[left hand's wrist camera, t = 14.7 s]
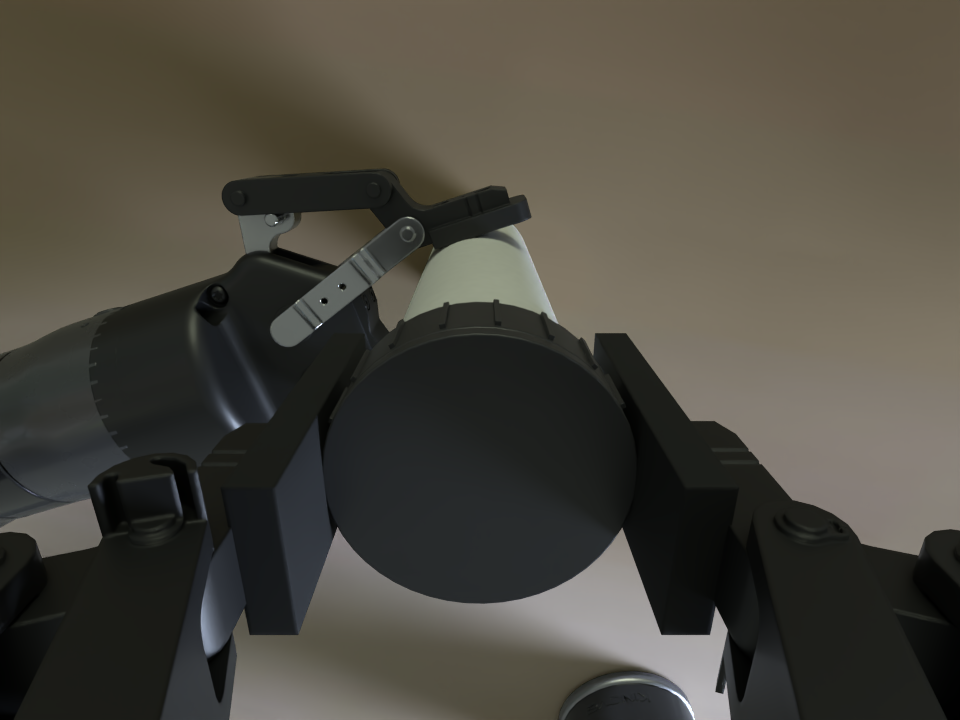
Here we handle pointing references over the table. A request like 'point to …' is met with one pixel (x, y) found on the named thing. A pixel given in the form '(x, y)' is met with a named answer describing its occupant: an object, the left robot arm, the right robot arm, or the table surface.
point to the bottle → (481, 275)
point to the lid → (479, 455)
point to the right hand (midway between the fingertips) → (543, 274)
